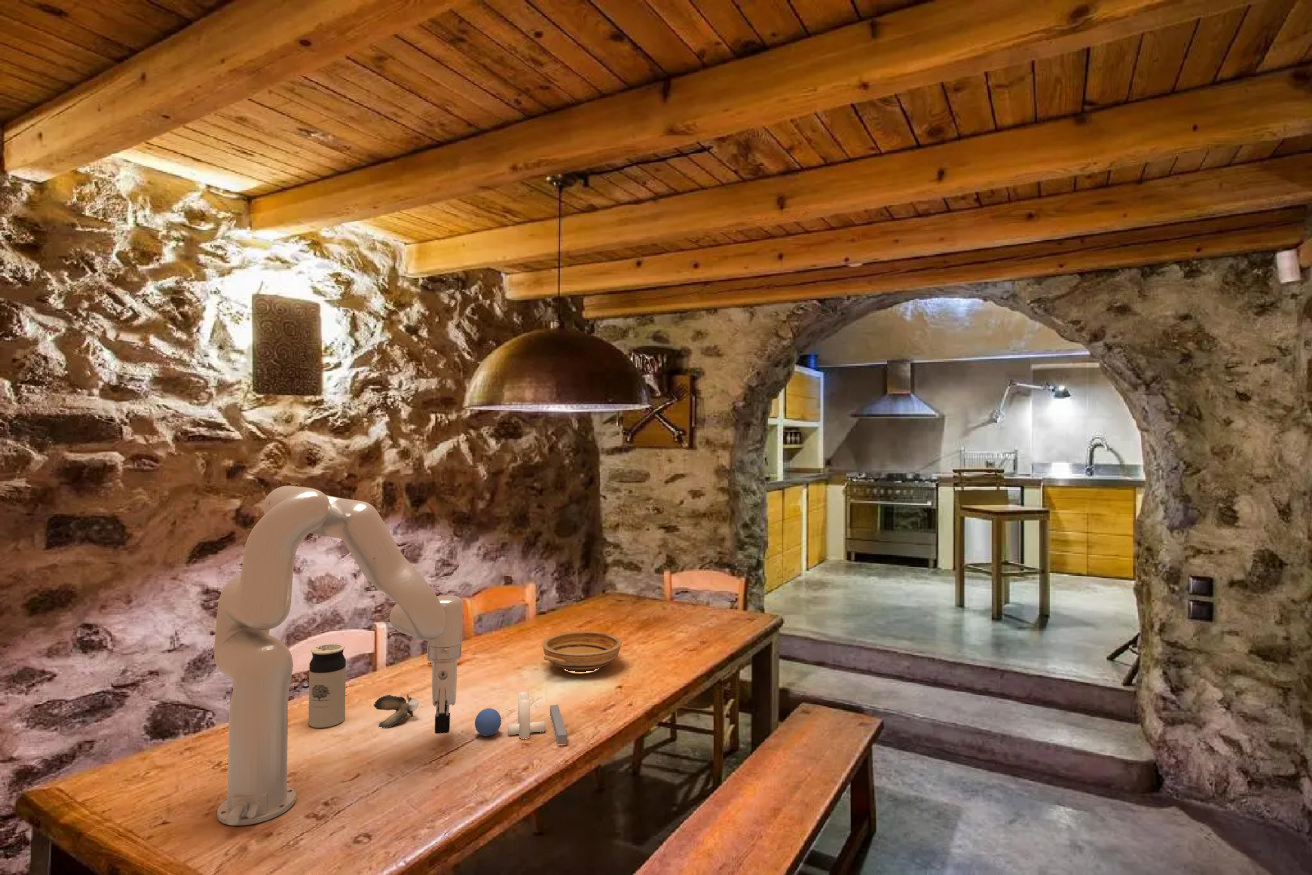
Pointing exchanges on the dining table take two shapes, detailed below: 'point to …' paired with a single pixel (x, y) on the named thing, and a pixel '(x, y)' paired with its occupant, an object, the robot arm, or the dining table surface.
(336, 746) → the dining table surface
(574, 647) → the ceramic bowl
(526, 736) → the pin
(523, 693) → the pin
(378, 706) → the eagle figurine
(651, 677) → the dining table surface
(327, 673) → the travel mug
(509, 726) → the front pin
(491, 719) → the ball
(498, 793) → the dining table surface
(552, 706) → the gray rectangular bar
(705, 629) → the dining table surface
